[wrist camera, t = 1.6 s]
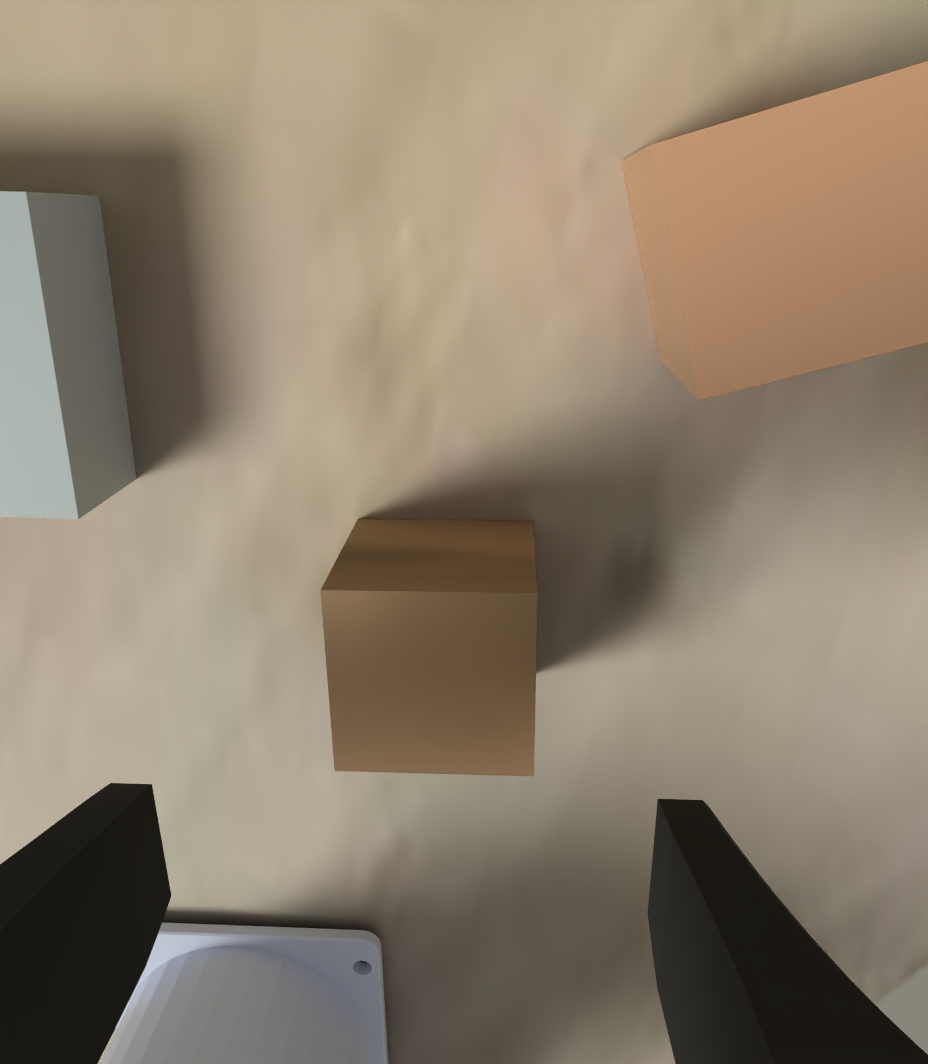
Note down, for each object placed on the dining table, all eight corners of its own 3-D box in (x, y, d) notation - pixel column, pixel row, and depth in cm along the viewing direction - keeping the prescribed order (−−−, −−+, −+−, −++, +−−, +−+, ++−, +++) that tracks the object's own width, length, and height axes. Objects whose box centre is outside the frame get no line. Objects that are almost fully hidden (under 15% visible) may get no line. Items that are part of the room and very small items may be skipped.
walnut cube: (529, 673, 20) (533, 776, 17) (368, 670, 20) (334, 770, 17) (533, 519, 19) (537, 593, 15) (358, 517, 19) (320, 589, 15)
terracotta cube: (855, 309, 17) (952, 336, 13) (659, 361, 17) (698, 400, 14) (831, 97, 16) (931, 59, 12) (620, 161, 16) (651, 144, 12)
